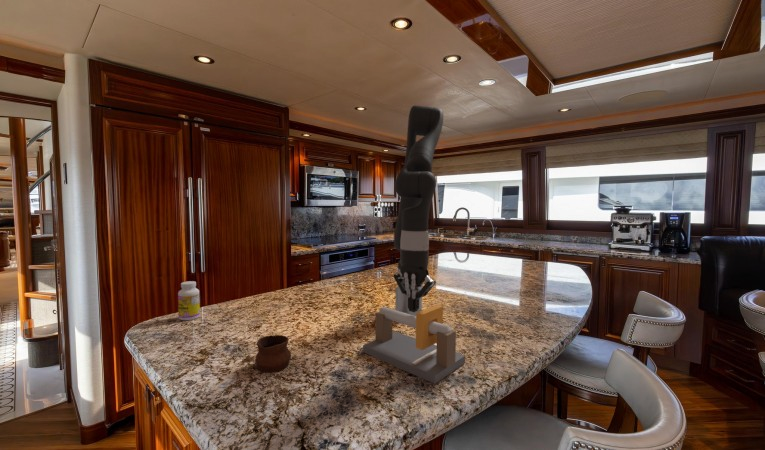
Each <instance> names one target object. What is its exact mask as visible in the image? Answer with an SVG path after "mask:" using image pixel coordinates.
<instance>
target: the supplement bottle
mask: <svg viewBox="0 0 765 450" xmlns="http://www.w3.org/2000/svg"><path fill="white" fill-rule="evenodd" d="M180 288H181V289H180V290H178V292H177V302H178V303H177V307H178V308H177V309H178V311H177V312H178V313H177V314H178V319H179V320H180V321H191V320H195V319H198V318H199V317H200V316H201V315H200V314H201V308H200V305H201V304H200V303H201V301H200V300H201V299H200V289H198V288H197V282H196V280H195V281H194V280H192V281H191V280H189V281H183V282H181V283H180Z"/></svg>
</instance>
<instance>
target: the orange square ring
mask: <svg viewBox="0 0 765 450" xmlns="http://www.w3.org/2000/svg"><path fill="white" fill-rule="evenodd" d="M443 313H444V306H443V305H438V304H435V305H432V306H430V307H427V308H425V309H422V311H419V312H417V313H416V328H415V338H416V348H418V349H420V350H424V349H426V348H427V347H429V346H431V345H436V344H437V335H435V334H432V333H428V330H429V321H434V322H437V323H441V324H444V323H443V319H444V318H443V317H444V314H443Z"/></svg>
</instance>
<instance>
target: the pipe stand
mask: <svg viewBox="0 0 765 450" xmlns="http://www.w3.org/2000/svg"><path fill="white" fill-rule="evenodd" d="M393 322H394V323H397V324H401V325H405V326H408V327H411V328H413V329H416V316H413V315H410V314H407V313H403V312H400V311H396V310H395V309H393V308H389V307H387V306H382V307H380V309H379V311H376V312H375V328H374V329H375V331H374V332H375V335H374V337H375V339H374V340H372V341H370V342H367V343H364V344H363V345H362V352H363V353H365V354H367V355H369V356H371V357H373V358H375V359H378V360H380V361H382V362H384V363H387V364H389V365H390V366H393V367H396V368H398V369H400V370H402V371H405V372H408V373H409V374H411V375H414V376H416V377H419V378H421V379H423V380H425V381H428V382H430V383H431V384H434V385H435V384H437V383H438V382H440V381H442V380H443V379H444V378H446V377H447V376H448V375H450V374H451V373H453V372H454V371H456V370H458V368H460V367H463V365H465V364H466V355H465V354H461V353H458V352H457V350H456V347H457V331H456V330H453V329H452V327H451V326H450V325H448V324H444V323H443V324H441V323H437V322H434V321H429V330H428V333H432V334H435V335H437V343H436V344H433V345H431V346H429V347H427V348H426V349H424V350H420V349H418V348H416V337H413V336H410V335H407V334H405V333H402V332H398V331H393Z"/></svg>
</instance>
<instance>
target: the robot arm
mask: <svg viewBox="0 0 765 450" xmlns="http://www.w3.org/2000/svg"><path fill="white" fill-rule="evenodd" d="M443 124H444V111H443V109H441V108H439V107H434V106H427V105H426V106H425V105H416V104H415V105H413V106H411V108H410V110H409V114H408V121H407V131H406V132H407V135H406V149H405V159H404V164H403V167H402V168H401V169H400V171H399V173H398V174H397V176H396V178H395V182H394V189H395V192H396V195H397V196H399V197H400V198H399V199H400V200H399V206H398V213H397V217H396V222H395V228H394V235H393V245H394V248H395V250H397V251H400V252H399V253H400V254H399V255H400V256H399V260H398V262H397V273H395V274H393V278H394V281H395V282H396V285H397V286H396V287H395V294H394V295H395V296H394V297H395V303H394V307H395V309H394V310H396V311H400V312H403V313H407V314H410V315H413V316H416V313H417V312H419V311H422V310H423V297H426V296H427V294H429V293H430V291H431V290H432V289H433V287H434V286H435V285H436V284H437V281H436V280H435V279H432V278H431V276H430V273H429V269H428V266H429V262H430V261H429V258H430V257H429V255H430V251H429V250H430V237H429V236H430V235H429V216H430V209H431V205H432V202H433V201H432V200H433V197H434V195H435V192H436V191H435V190H436V187H437V180H436V179H437V178H436V176H435V175H434V173H432V172H431V171H432V168H433V161H434V156H435V155H434V154H435V150H436V148H437V145H438V143H439V139H440V137H441V133H442V130H443ZM417 136H418V137H421V136H422V137H421V138H419V139H417Z"/></svg>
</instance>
